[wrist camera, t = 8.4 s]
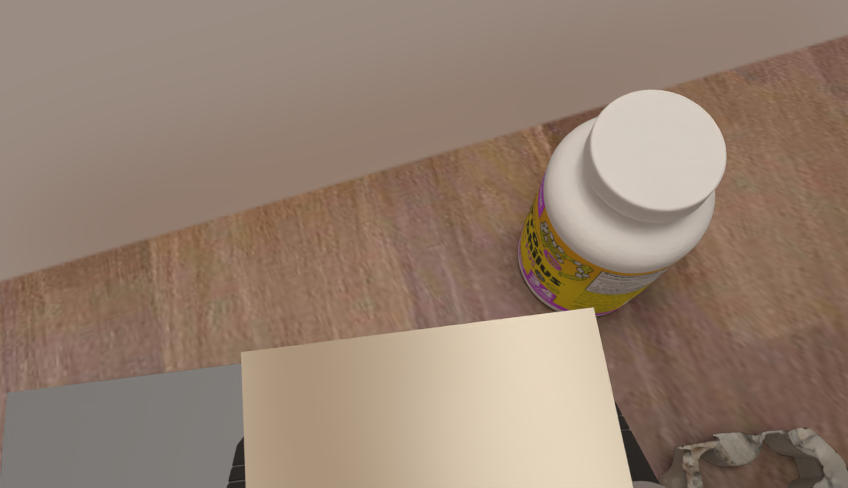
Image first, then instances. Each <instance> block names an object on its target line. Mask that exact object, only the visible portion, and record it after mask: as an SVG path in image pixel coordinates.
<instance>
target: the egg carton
mask: <svg viewBox="0 0 848 488" xmlns="http://www.w3.org/2000/svg"><path fill="white" fill-rule="evenodd" d="M713 436H714V438H715V439H716V440H713V441H708V442H704V443H699V444H692V445H687V446H679V447H675V449H674V459H673V463H672V465H671V467H670V468H669V470H668V471H667V472H666V473H664V474H662V475H661V476H660V478H659V483H660V485H662V486H664V487H666V488H703V482H702V478H701V474H700V471H699V459H700V456H701V457H702V458H703V459H704V460H705V461H707V462H709V463H711V464H713V465H716V466H742V465H746V464H749V463H750V462H752V461H753V460H754V459H755V458H756V457H757V456H758V455H759V453H760V450H761V448H762V441H763V440H765V442H766V443H767V445H768V446H769V447H770V448H771V449H772V450H773V451H775V452H776V453H779V454H781V455H785V456H792V457H794V459H795V461H796V464H797V467H798V470H799V476H800V478H799V479H797V480H794V481H792V482H791V483H790V484H789V485H788V486H787V488H848V469H847V467H846V464H845V462H844V461H843V459H842V458H841V457H840V456H839V454H838V453H837V452H836V451H835V450H834V449H833V448H832V447H830V446H829V445H828V444H827V443H826V442H825V441H824V440H823V439H822V438H821V437H820V436H819V435H817V434H816V433H815V432H814V431H813V430H812V429H808V428H798V429H794V430H791V431H783V430H779V431H766V432H761V434H760V435H747V434H744V433H742V432H739V433H722V434H713Z"/></svg>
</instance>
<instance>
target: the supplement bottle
mask: <svg viewBox="0 0 848 488" xmlns="http://www.w3.org/2000/svg"><path fill="white" fill-rule="evenodd" d="M725 166H726V147H725V142H724V139H723V136H722V134H721V132H720V130H719V128H718V126H717V125H716V123H715V121H714V120H713V119H712V118H711V116H710V115H709V114H708V113H707V112H706V111H705V110H704V109H702V108H701V107H700V106H699V105H697V104H696V103H694V102H693V101H691V100H689V99H687V98H685V97H684V96H682V95H679V94H675V93H672V92H668V91H662V90H642V91H636V92H632V93H629V94H627V95H624V96H622V97H620V98H618V99H616V100H615V101H613V102H612V103H610V104H609V105H608V106H607V107H606V108H605V109H604V110H603V111H602V112H601V113H600V115H599V116H598V117H596V118H594V119H591V120H589V121H587V122H585V123H583V124H581V125H580V126H578V127H577V128H575V129H574V130H573V131H571V132H570V133H569V134H568V135H567V136H566V137H565V138H564V139H563V140H562V141H561V143H560V144H559V145H558V147H557V148H556V150H555V151H554V153H553V155H552V157H551V159H550V161H549V164H548V166H547V169H546V172H545V174H544V177H543V179H542V182H541V184H540V187H539V189H538V192H537V194H536V196H535V199H534V202H533V204H532V206H531V209H530V212H529V214H528V216H527V219H526V221H525V224H524V227H523V229H522V232H521V235H520V239H519V244H518V261H519V266H520V270H521V272H522V275H523V277H524V280H525V281H526V283H527V285H528V286H529V288H530V289H531V291H532V292H533V293H534V294H535V295H536V296H537V297H538V298H539V299H540V300H541V301H542V302H543V303H545V304H546V305H547V306H549V307H551V308H552V309H554V310H556V311H558V312H562V311H570V310H578V309H585V308H593V307H594V311H595V316H601V315H605V314H608V313H611V312H613V311H615V310H617V309H619V308H621V307H622V306H624V305H625V304H627V303H628V302H629V301H631V300H632V299H633V298H634V297H636V296H637V295H638V294H639V293H640V292H641V291H643V290H644V289H645V288H646V287H647V286H649V285H650V284H651V283H652V282H653V281H654V280H656V279H657V278H658V277H659V276H660V275H662V274H663V273H664V272H665V271H667V270H668V269H669V268H670V267H671V266H673V265H674V264H675V263H676V262H677V261H679V260H680V259H681V258H682V257H684V256H685V255H686V254H687V253H688V252H689V251H690V250H692V249H693V248H694V247H695V246H696V244H697V243H698V242H699V241H700V240H701V238H702V237H703V235H704V234H705V232H706V230H707V228H708V226H709V224H710V221H711V219H712V216H713V211H714V206H715V189H716V187H717V186H718V184H719V183H720V181H721V179H722V176H723V174H724V171H725Z"/></svg>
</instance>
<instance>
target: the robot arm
mask: <svg viewBox="0 0 848 488" xmlns="http://www.w3.org/2000/svg"><path fill="white" fill-rule="evenodd" d="M614 402H615V401H614ZM615 407H616V412H617V416H618V421H619V425H620V430H621V434H622V439H623V444H624V448H625V453H626V457H627V462H628V466H629V471H630V475H631V480H632V485H633V488H666V487H664V486H662V485H660V483H659V482H658V480H657V478H656V476H655V475H654V473H653V471H652V469H651V467H650V465H649V463H648V462H647V460H646V458H645V456H644V454H643V452H642V450H641V449H640V447H639V445H638V443H637V441H636V439H635V438H634V436H633V434H632V432H631V431H630V430H629V426H628V425H627V423H626V421H625V419H624V417H622V414H621V412H620V410H619V408H618V406H617V404H616V402H615ZM228 482H229V484H228V485H227V488H246V480H245V452H244V437H243V438H242V439H241V441H240V442H239V443H238V444H237V447H236V451H235V455H234V459H233V463H232V469H231V471H230V476H229V480H228Z"/></svg>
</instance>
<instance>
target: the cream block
mask: <svg viewBox="0 0 848 488" xmlns="http://www.w3.org/2000/svg"><path fill="white" fill-rule="evenodd" d="M241 367H242V395H243V423H244V452H245V480H246V488H633V485H632V480H631V475H630V471H629V466H628V462H627V457H626V453H625V448H624V444H623V439H622V434H621V430H620V425H619V421H618V416H617V412H616V407H615V402H614V398H613V393H612V389H611V384H610V380H609V375H608V371H607V366H606V361H605V357H604V352H603V348H602V343H601V339H600V334H599V329H598V325H597V320H596V316H595V311H594V307H593V308H585V309H578V310H570V311H562V312H554V313H546V314H538V315H530V316H523V317H515V318H507V319H499V320H491V321H483V322H475V323H468V324H460V325H452V326H444V327H436V328H428V329H420V330H413V331H405V332H397V333H389V334H381V335H373V336H365V337H358V338H350V339H342V340H334V341H326V342H318V343H310V344H303V345H295V346H287V347H279V348H271V349H263V350H255V351H248V352H241Z"/></svg>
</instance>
